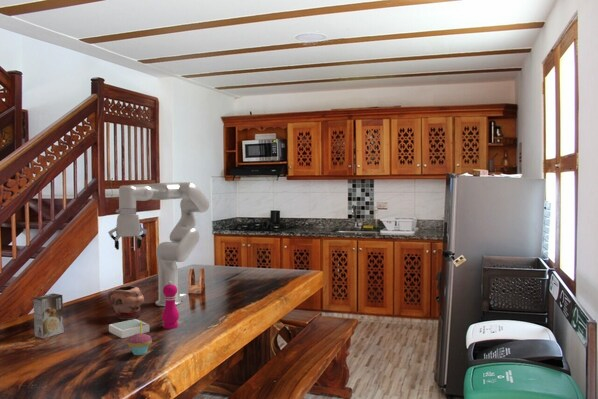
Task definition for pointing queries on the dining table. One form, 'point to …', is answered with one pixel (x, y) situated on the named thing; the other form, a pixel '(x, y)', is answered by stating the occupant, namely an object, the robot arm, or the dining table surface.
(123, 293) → the decorative planter
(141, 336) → the cupcake
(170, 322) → the pepper mill
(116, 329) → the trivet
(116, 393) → the dining table surface
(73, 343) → the dining table surface
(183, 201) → the robot arm
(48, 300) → the coffee box
